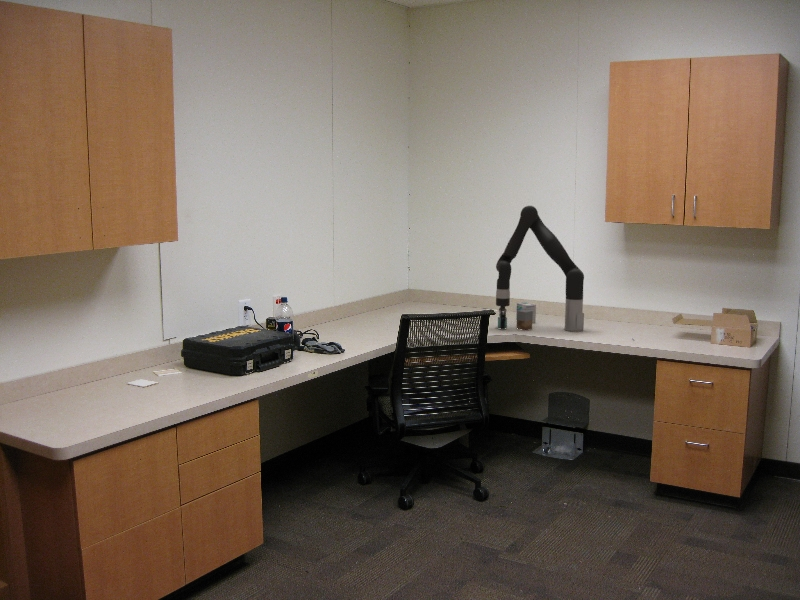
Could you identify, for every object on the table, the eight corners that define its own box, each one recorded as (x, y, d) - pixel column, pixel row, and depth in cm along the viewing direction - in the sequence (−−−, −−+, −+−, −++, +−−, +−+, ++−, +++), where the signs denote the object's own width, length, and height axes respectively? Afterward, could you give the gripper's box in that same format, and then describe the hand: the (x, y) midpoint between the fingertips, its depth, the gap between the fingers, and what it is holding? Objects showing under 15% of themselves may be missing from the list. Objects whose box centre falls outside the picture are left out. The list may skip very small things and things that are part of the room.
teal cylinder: (508, 328, 444) (508, 317, 443) (502, 329, 440) (502, 318, 439) (501, 327, 447) (502, 316, 446) (495, 328, 444) (496, 317, 443)
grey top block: (532, 320, 441) (532, 311, 441) (525, 321, 437) (525, 312, 437) (523, 318, 446) (524, 309, 445) (516, 319, 442) (517, 310, 441)
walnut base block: (532, 329, 442) (532, 320, 441) (525, 330, 438) (525, 321, 437) (523, 327, 447) (523, 318, 446) (516, 328, 443) (516, 319, 442)
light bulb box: (515, 321, 467) (516, 302, 465) (525, 320, 469) (526, 301, 468) (526, 324, 457) (526, 305, 455) (536, 323, 460) (536, 304, 458)
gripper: (510, 299, 434) (510, 330, 437) (508, 295, 448) (508, 325, 451) (496, 298, 434) (496, 330, 437) (495, 295, 449) (494, 325, 451)
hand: (502, 327), depth 444 cm, fingers closed on teal cylinder, 5 cm apart
